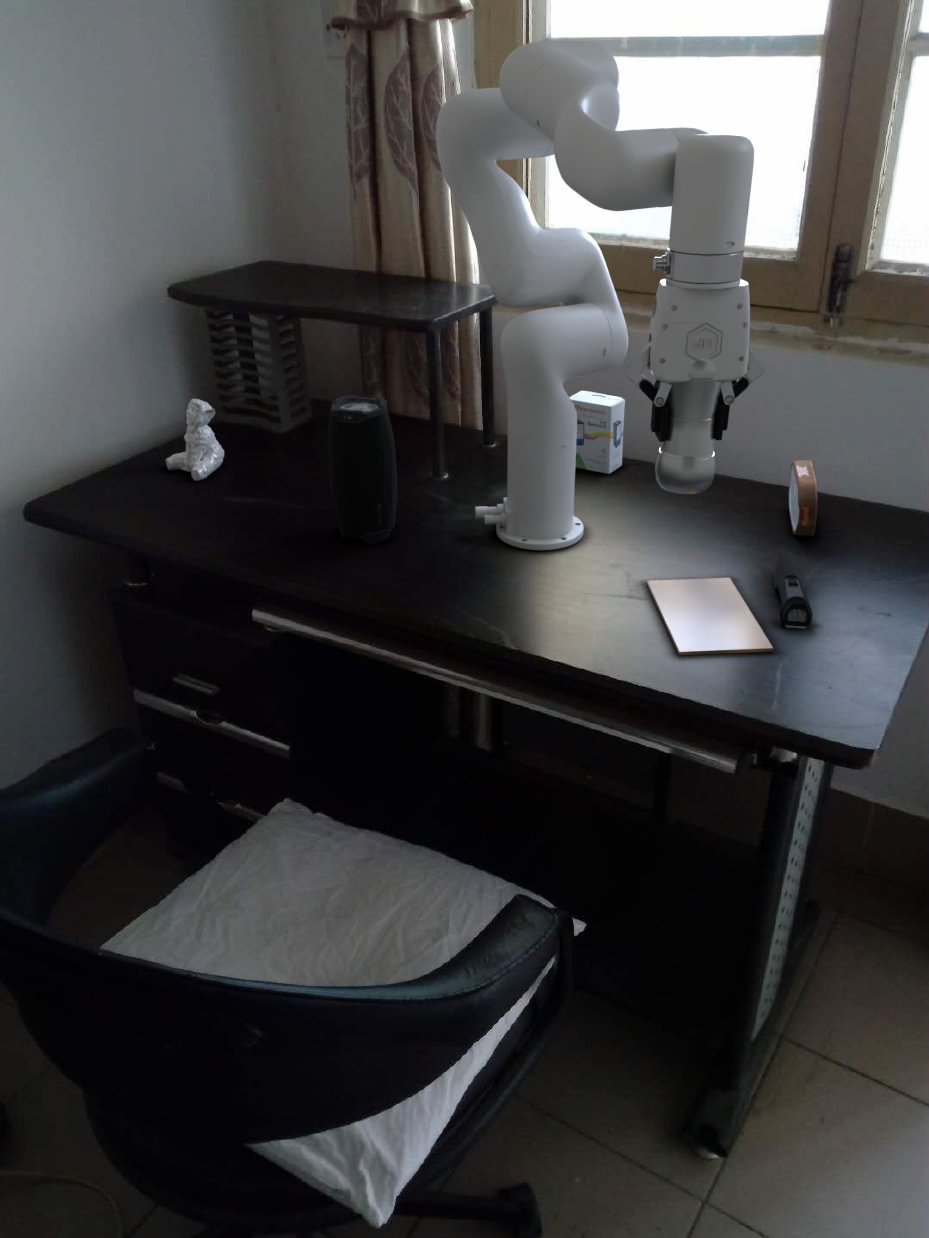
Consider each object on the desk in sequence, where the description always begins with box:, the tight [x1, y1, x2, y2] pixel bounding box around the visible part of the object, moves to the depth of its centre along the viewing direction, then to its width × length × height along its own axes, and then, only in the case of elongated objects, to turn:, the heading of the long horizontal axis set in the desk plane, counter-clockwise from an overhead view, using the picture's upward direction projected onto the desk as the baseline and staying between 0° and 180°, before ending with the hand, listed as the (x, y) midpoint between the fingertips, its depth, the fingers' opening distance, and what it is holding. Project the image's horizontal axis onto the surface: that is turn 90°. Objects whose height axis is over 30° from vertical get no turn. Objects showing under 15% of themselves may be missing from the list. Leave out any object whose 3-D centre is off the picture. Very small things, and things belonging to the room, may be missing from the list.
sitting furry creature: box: [165, 398, 225, 482], centre depth 168 cm, size 10×9×12 cm
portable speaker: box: [327, 394, 398, 545], centre depth 142 cm, size 9×9×20 cm
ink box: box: [569, 390, 626, 475], centre depth 166 cm, size 9×5×12 cm, turn 55°
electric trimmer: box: [773, 551, 813, 629], centre depth 127 cm, size 4×16×3 cm, turn 170°
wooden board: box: [646, 577, 774, 656], centre depth 124 cm, size 11×18×1 cm, turn 3°
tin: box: [788, 459, 818, 537], centre depth 146 cm, size 15×3×8 cm, turn 168°
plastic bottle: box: [654, 357, 722, 495], centre depth 111 cm, size 6×7×20 cm
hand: (687, 435), depth 112 cm, fingers closed on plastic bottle, 5 cm apart
